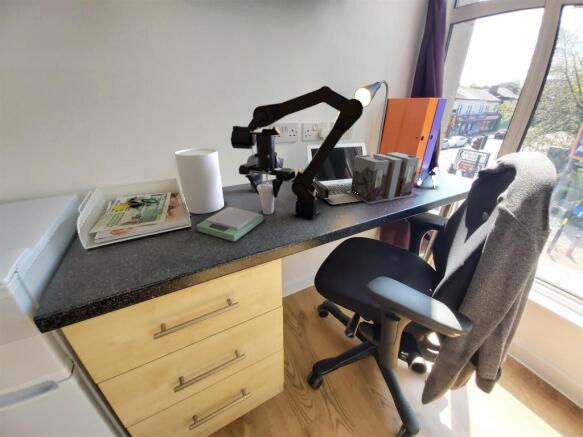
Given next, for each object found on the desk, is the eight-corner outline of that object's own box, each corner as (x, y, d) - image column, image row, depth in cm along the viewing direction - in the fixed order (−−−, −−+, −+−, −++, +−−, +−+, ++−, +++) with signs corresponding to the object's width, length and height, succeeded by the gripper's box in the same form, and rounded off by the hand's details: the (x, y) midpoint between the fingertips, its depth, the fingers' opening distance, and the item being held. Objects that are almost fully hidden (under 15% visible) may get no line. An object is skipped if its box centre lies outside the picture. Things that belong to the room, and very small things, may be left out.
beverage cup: (262, 193, 101) (259, 145, 92) (246, 192, 103) (242, 144, 94) (267, 188, 108) (265, 142, 99) (252, 187, 109) (248, 142, 100)
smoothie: (270, 217, 80) (267, 177, 74) (255, 213, 83) (251, 174, 77) (280, 210, 85) (278, 172, 78) (266, 207, 88) (263, 170, 82)
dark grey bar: (311, 180, 103) (326, 190, 90) (317, 179, 104) (333, 189, 91) (310, 191, 105) (325, 202, 92) (317, 190, 106) (332, 201, 93)
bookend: (416, 195, 100) (425, 156, 93) (368, 203, 91) (375, 161, 84) (389, 184, 113) (395, 150, 106) (345, 191, 104) (349, 154, 97)
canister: (188, 201, 93) (178, 149, 84) (224, 198, 96) (217, 147, 87) (183, 215, 81) (170, 156, 72) (224, 211, 84) (216, 154, 75)
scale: (263, 220, 78) (263, 212, 77) (234, 241, 66) (233, 233, 64) (229, 212, 83) (229, 205, 82) (197, 230, 71) (195, 222, 70)
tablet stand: (418, 182, 116) (422, 165, 113) (436, 185, 112) (441, 167, 109) (415, 186, 110) (419, 169, 106) (434, 190, 106) (439, 171, 102)
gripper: (302, 148, 77) (301, 193, 84) (255, 144, 85) (257, 185, 91) (287, 154, 68) (287, 203, 75) (235, 148, 76) (239, 194, 82)
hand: (267, 196), depth 81 cm, fingers closed on smoothie, 6 cm apart
